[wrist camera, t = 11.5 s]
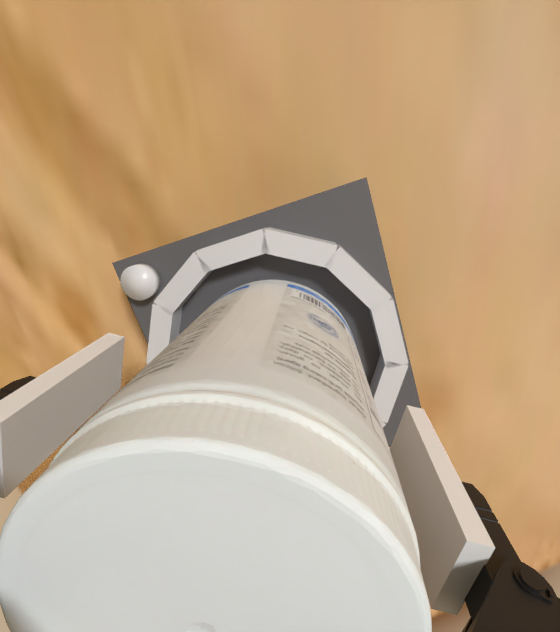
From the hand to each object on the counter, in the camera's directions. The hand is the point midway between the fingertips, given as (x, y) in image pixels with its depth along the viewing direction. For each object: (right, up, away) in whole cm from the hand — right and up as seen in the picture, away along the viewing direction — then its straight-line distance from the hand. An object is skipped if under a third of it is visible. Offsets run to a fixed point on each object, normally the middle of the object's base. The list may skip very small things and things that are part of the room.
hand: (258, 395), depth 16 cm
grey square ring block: (+1, +2, +9) cm, 9 cm away
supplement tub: (+1, +1, +5) cm, 6 cm away
